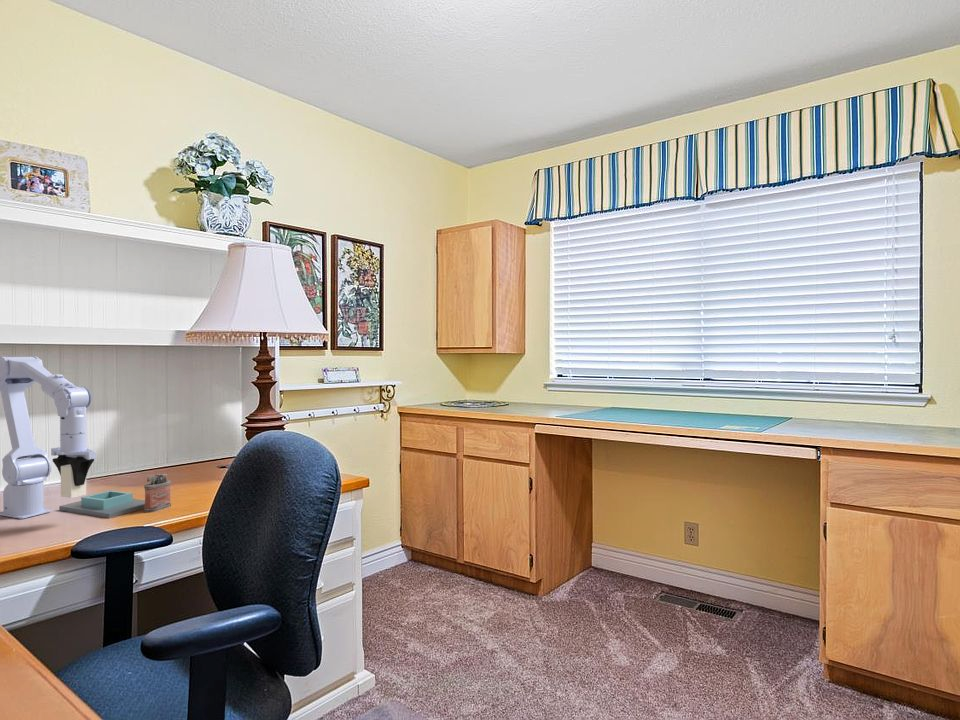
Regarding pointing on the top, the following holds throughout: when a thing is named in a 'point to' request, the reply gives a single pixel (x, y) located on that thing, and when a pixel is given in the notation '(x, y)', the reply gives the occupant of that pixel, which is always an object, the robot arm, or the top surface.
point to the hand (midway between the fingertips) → (73, 484)
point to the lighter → (157, 493)
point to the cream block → (70, 484)
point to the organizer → (105, 504)
